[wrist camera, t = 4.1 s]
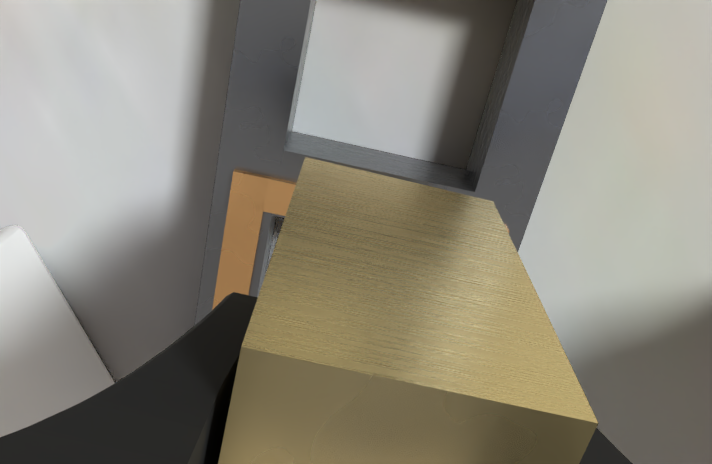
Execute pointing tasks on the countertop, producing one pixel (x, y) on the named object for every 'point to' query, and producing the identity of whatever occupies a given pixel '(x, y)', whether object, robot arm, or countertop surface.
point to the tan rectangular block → (399, 337)
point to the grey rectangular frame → (288, 149)
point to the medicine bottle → (39, 341)
